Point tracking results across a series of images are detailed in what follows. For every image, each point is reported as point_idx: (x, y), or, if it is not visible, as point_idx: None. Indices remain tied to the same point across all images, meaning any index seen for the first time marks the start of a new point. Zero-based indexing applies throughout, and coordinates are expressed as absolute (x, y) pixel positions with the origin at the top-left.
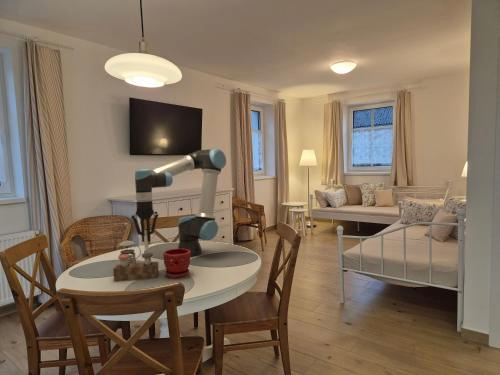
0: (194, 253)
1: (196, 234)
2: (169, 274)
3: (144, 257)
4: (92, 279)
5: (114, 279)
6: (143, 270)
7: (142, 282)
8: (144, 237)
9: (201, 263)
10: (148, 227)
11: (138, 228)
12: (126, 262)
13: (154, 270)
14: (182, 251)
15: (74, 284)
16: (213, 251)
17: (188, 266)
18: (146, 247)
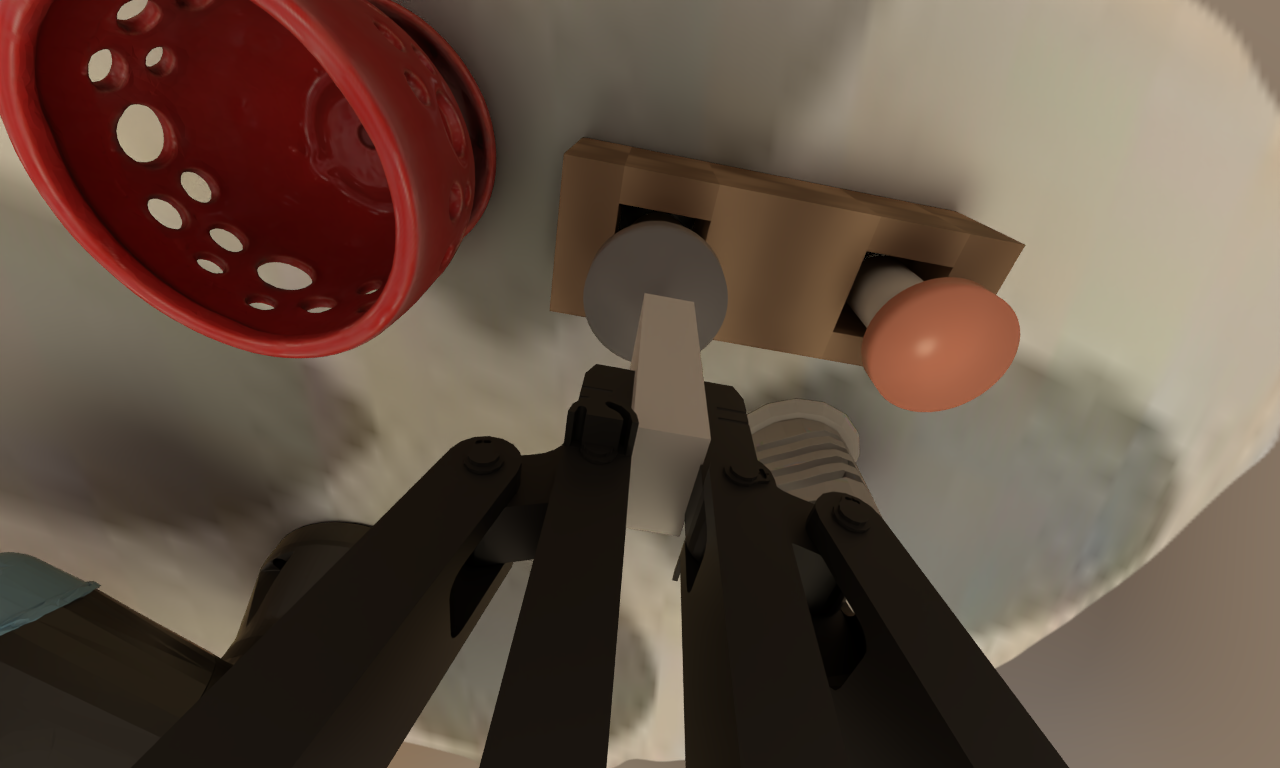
0: (304, 537)
1: (93, 645)
2: (441, 39)
3: (697, 235)
4: (1087, 338)
5: (959, 215)
6: (708, 175)
7: (726, 46)
8: (698, 411)
9: (220, 352)
10: (547, 627)
11: (916, 662)
12: (892, 293)
13: (595, 151)
14: (219, 306)
15: (1252, 279)
16: (193, 559)
17: (204, 79)
18: (664, 305)
